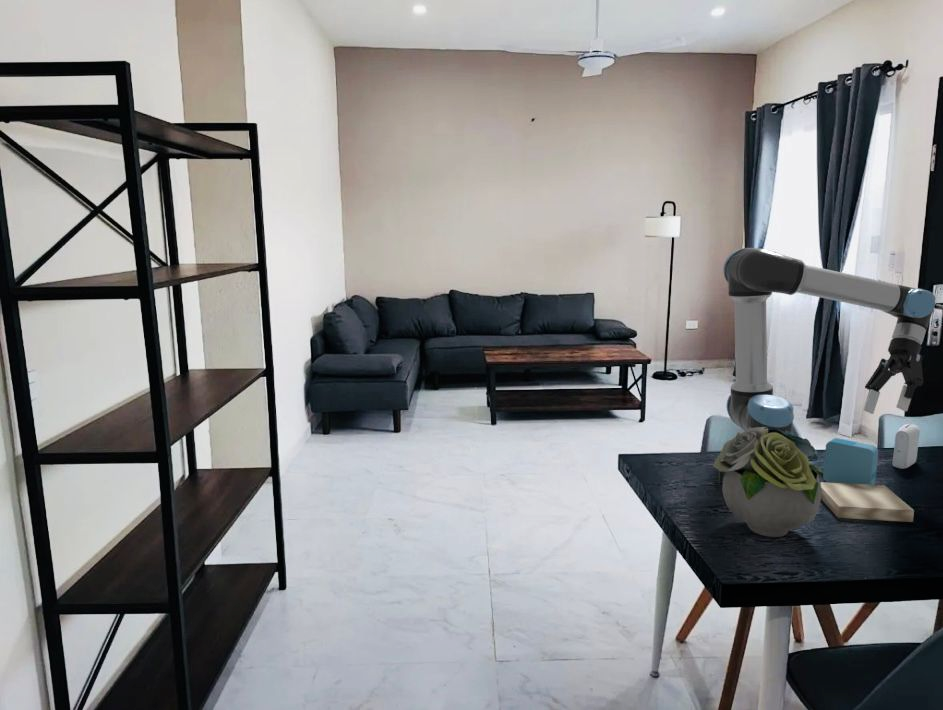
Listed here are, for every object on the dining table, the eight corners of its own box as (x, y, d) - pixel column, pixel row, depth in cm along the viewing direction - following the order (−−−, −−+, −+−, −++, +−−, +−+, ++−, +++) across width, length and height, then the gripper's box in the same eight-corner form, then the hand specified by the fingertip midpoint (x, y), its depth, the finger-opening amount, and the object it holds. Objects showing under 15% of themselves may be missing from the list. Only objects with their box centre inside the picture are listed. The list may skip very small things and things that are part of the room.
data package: (874, 488, 186) (879, 446, 184) (869, 492, 183) (874, 450, 181) (827, 477, 194) (831, 436, 192) (822, 481, 191) (826, 440, 189)
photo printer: (906, 470, 200) (911, 429, 197) (889, 466, 203) (894, 426, 201) (918, 462, 206) (923, 423, 204) (902, 458, 209) (906, 420, 207)
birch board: (837, 517, 167) (839, 506, 166) (815, 492, 183) (816, 481, 182) (912, 522, 164) (914, 510, 164) (883, 495, 180) (884, 485, 180)
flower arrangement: (695, 510, 172) (701, 417, 167) (791, 507, 173) (799, 415, 169) (739, 556, 147) (747, 449, 143) (850, 553, 149) (861, 446, 144)
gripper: (952, 340, 180) (930, 413, 177) (888, 353, 205) (867, 417, 202) (927, 329, 180) (904, 402, 177) (865, 343, 205) (844, 407, 202)
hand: (884, 410), depth 189 cm, fingers open, 13 cm apart
